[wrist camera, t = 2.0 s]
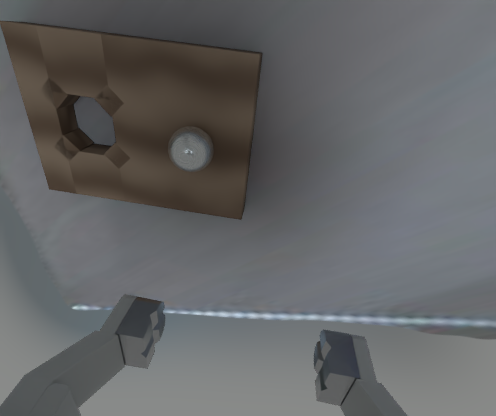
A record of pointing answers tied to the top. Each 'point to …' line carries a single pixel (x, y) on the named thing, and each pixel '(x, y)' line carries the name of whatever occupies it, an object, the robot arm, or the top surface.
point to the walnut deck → (138, 114)
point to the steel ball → (190, 149)
